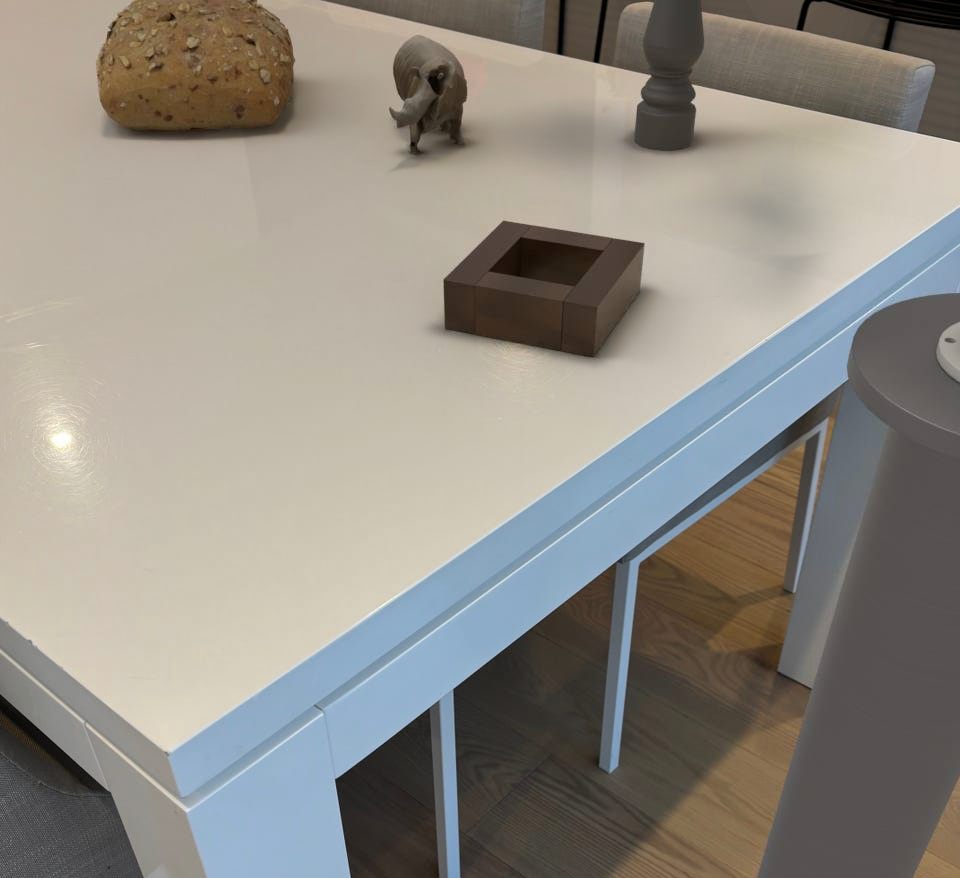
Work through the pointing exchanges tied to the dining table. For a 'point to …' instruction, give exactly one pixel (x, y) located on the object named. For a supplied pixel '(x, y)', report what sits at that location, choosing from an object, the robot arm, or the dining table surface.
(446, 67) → the rhinoceros figurine
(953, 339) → the robot arm
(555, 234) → the square frame
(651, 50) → the candle holder
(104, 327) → the dining table surface
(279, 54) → the bread
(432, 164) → the dining table surface
